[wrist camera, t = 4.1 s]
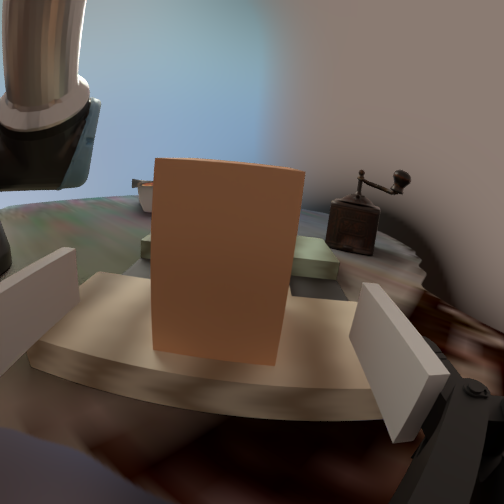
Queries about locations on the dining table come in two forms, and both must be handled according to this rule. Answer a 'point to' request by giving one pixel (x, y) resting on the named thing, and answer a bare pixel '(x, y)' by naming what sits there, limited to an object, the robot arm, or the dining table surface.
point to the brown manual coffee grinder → (359, 217)
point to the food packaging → (144, 193)
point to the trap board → (210, 370)
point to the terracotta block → (222, 257)
